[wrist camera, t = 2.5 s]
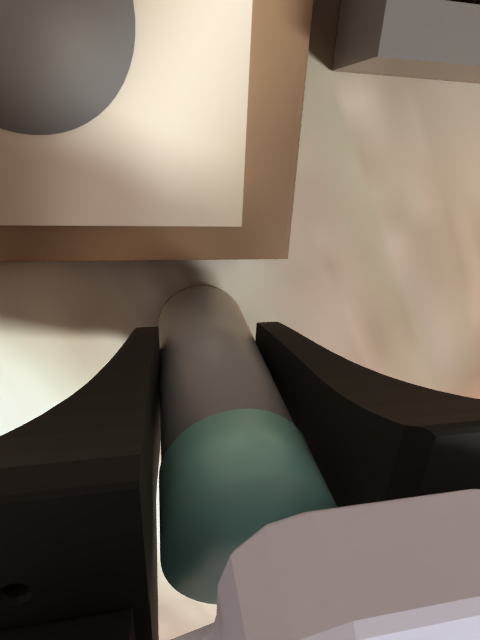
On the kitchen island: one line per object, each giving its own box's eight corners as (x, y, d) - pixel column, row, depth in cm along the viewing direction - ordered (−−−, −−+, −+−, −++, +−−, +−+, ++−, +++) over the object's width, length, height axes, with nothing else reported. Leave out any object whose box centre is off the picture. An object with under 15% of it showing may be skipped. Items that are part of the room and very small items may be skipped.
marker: (158, 365, 14) (163, 617, 7) (154, 285, 13) (156, 490, 5) (241, 360, 14) (328, 588, 7) (245, 283, 13) (355, 467, 6)
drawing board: (-208, 254, 10) (-245, 268, 9) (-537, -505, 6) (-679, -634, 5) (280, 251, 13) (290, 261, 12) (328, -278, 8) (352, -333, 7)
